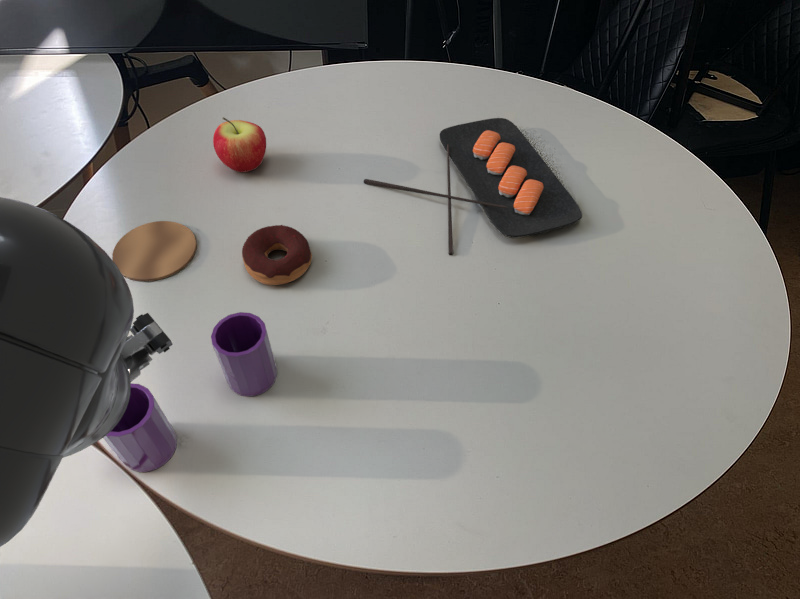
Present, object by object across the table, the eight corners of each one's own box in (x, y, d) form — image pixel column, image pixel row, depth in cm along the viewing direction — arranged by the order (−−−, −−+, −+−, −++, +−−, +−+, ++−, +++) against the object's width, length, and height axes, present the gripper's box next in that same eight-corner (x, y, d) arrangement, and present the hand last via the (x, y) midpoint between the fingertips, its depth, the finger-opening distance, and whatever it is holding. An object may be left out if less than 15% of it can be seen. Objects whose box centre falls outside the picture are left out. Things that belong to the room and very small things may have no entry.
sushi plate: (586, 227, 94) (593, 209, 91) (406, 273, 87) (407, 255, 84) (506, 123, 111) (509, 105, 108) (350, 155, 104) (349, 136, 101)
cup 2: (231, 402, 74) (215, 362, 67) (224, 361, 77) (207, 319, 70) (281, 388, 75) (270, 347, 68) (272, 349, 79) (260, 306, 72)
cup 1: (122, 479, 67) (92, 443, 60) (120, 431, 71) (91, 392, 64) (179, 462, 69) (155, 426, 62) (174, 416, 72) (151, 376, 65)
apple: (214, 158, 103) (200, 107, 96) (261, 145, 106) (251, 94, 98) (228, 187, 99) (214, 135, 91) (277, 172, 101) (267, 121, 93)
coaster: (114, 289, 85) (113, 287, 84) (112, 232, 92) (110, 230, 91) (201, 270, 87) (200, 268, 87) (192, 216, 94) (191, 213, 94)
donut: (313, 286, 85) (310, 267, 82) (243, 292, 85) (238, 273, 82) (311, 236, 92) (308, 217, 89) (246, 241, 91) (241, 222, 88)
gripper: (122, 260, 35) (132, 303, 50) (-131, 423, 30) (-35, 418, 45) (204, 359, 36) (190, 373, 51) (-28, 536, 31) (33, 494, 45)
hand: (85, 394), depth 48 cm, fingers open, 8 cm apart
